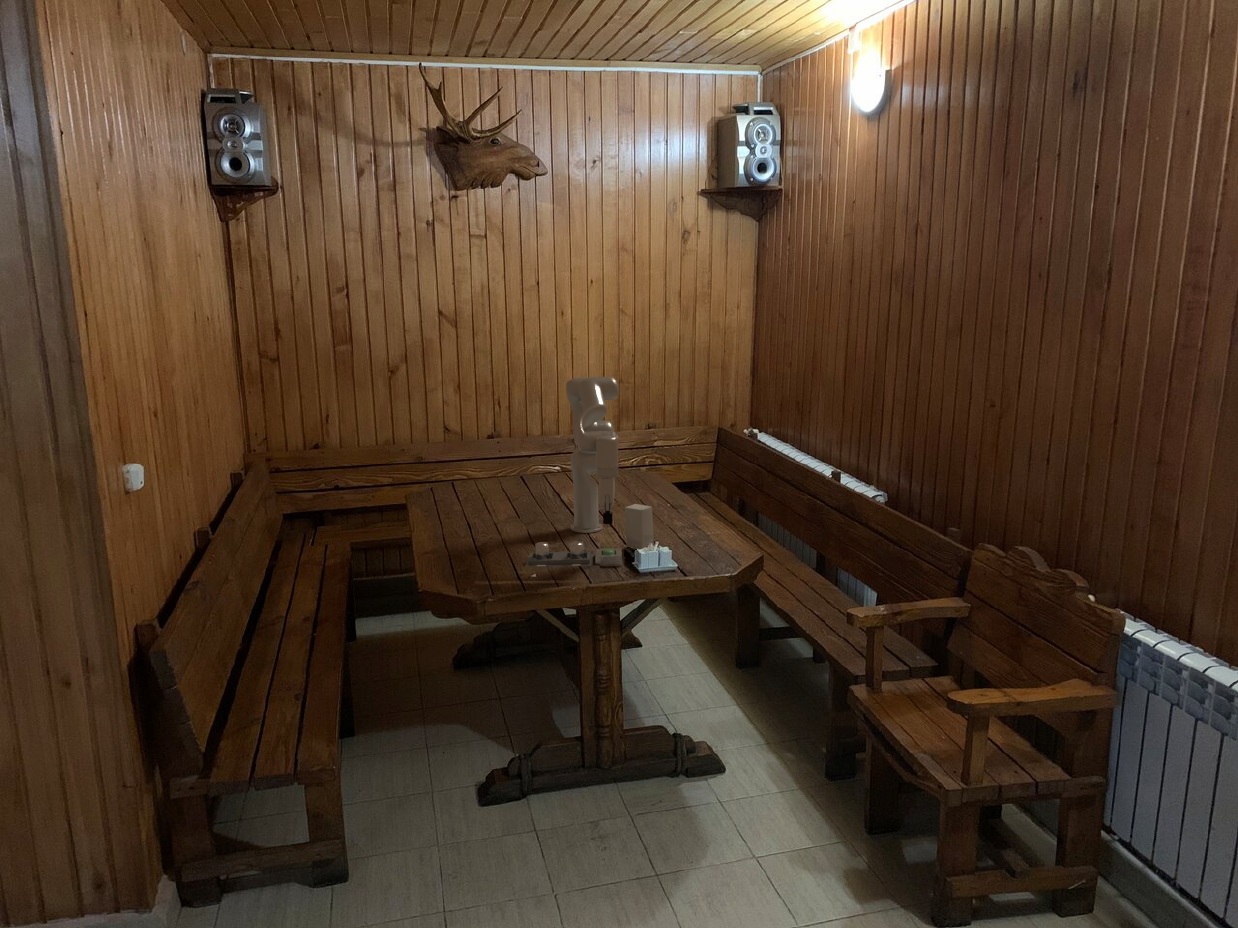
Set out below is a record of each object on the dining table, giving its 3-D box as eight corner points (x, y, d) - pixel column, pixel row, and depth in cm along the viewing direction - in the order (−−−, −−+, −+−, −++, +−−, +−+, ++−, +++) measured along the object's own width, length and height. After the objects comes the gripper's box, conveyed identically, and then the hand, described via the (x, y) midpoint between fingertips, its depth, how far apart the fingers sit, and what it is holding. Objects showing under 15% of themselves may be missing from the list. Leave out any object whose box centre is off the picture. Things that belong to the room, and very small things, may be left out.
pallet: (528, 557, 318) (528, 550, 317) (593, 556, 318) (593, 549, 317) (524, 569, 305) (524, 562, 305) (592, 568, 305) (592, 561, 305)
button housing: (596, 558, 316) (596, 548, 315) (621, 557, 316) (621, 548, 315) (595, 566, 307) (595, 556, 306) (621, 566, 307) (621, 556, 306)
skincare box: (654, 547, 327) (653, 506, 324) (642, 552, 322) (641, 510, 319) (636, 543, 332) (636, 502, 329) (624, 547, 328) (624, 506, 324)
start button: (603, 557, 313) (602, 549, 313) (614, 557, 313) (614, 549, 313) (603, 561, 309) (602, 552, 309) (614, 560, 309) (614, 552, 309)
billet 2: (572, 557, 314) (571, 540, 312) (584, 557, 313) (584, 541, 312) (569, 561, 310) (569, 544, 308) (582, 562, 309) (582, 545, 308)
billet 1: (536, 558, 314) (535, 542, 312) (549, 558, 314) (548, 541, 312) (535, 562, 309) (534, 545, 308) (548, 562, 309) (547, 545, 308)
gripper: (596, 466, 312) (597, 517, 317) (595, 477, 298) (596, 530, 302) (618, 466, 312) (618, 517, 317) (618, 477, 298) (618, 529, 302)
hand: (607, 523), depth 309 cm, fingers closed
